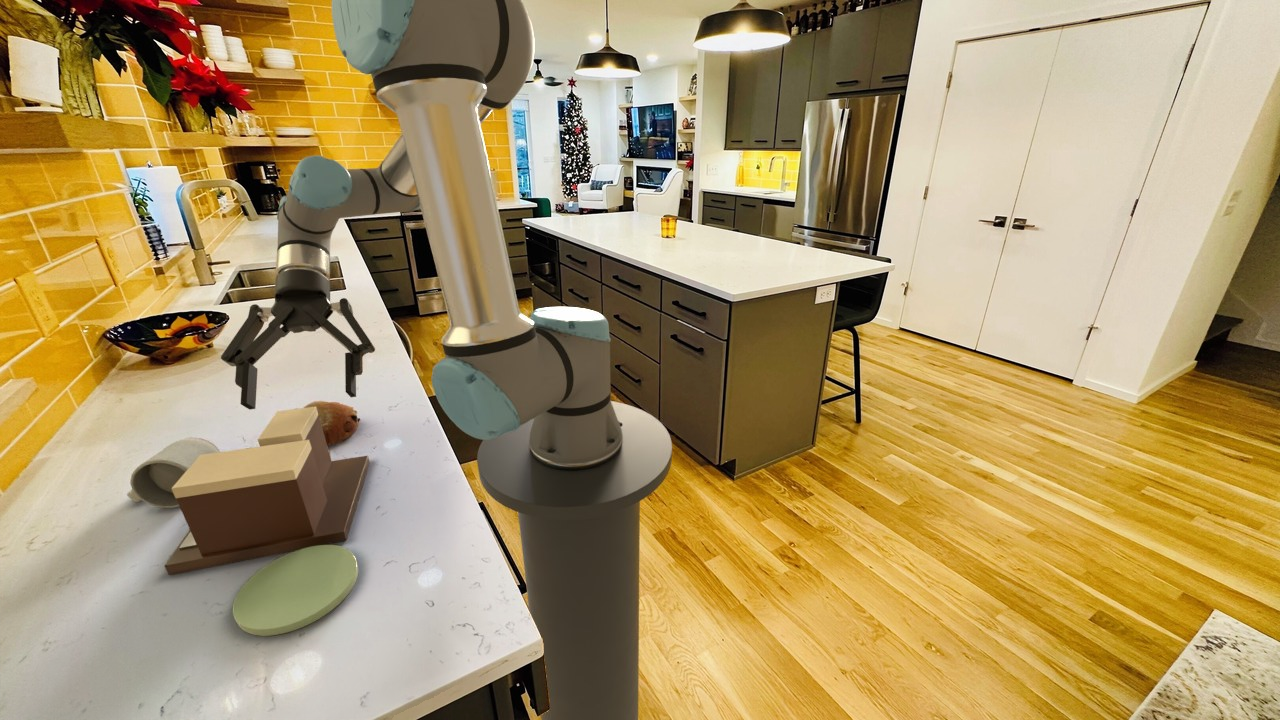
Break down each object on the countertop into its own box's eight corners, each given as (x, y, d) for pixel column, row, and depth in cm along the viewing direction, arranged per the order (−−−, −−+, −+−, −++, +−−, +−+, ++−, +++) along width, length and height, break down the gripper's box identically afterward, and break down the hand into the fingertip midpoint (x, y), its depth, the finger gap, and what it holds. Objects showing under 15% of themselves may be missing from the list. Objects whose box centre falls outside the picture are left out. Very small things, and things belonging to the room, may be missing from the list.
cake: (327, 500, 70) (309, 439, 66) (314, 534, 64) (292, 469, 60) (225, 518, 66) (200, 454, 62) (201, 556, 60) (171, 488, 56)
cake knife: (228, 480, 74) (226, 473, 73) (244, 477, 74) (242, 471, 74) (179, 549, 61) (176, 542, 61) (199, 546, 62) (195, 538, 61)
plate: (366, 541, 65) (364, 535, 64) (347, 618, 54) (345, 612, 54) (258, 563, 61) (256, 556, 61) (215, 649, 51) (212, 642, 50)
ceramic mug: (233, 470, 78) (216, 428, 75) (204, 504, 71) (183, 459, 68) (154, 480, 76) (133, 437, 73) (116, 516, 69) (90, 470, 66)
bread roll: (316, 440, 93) (284, 409, 89) (367, 410, 95) (337, 379, 90) (307, 469, 85) (271, 437, 81) (363, 436, 86) (330, 403, 82)
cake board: (370, 463, 80) (368, 455, 80) (346, 540, 65) (344, 531, 64) (230, 484, 75) (227, 476, 75) (168, 575, 59) (163, 565, 59)
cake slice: (332, 462, 78) (316, 406, 74) (319, 493, 71) (300, 433, 67) (295, 468, 77) (277, 411, 73) (278, 500, 70) (257, 439, 66)
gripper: (391, 285, 89) (396, 397, 82) (226, 296, 82) (216, 419, 75) (380, 262, 83) (385, 381, 75) (200, 271, 76) (186, 404, 68)
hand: (300, 400), depth 75 cm, fingers open, 13 cm apart
